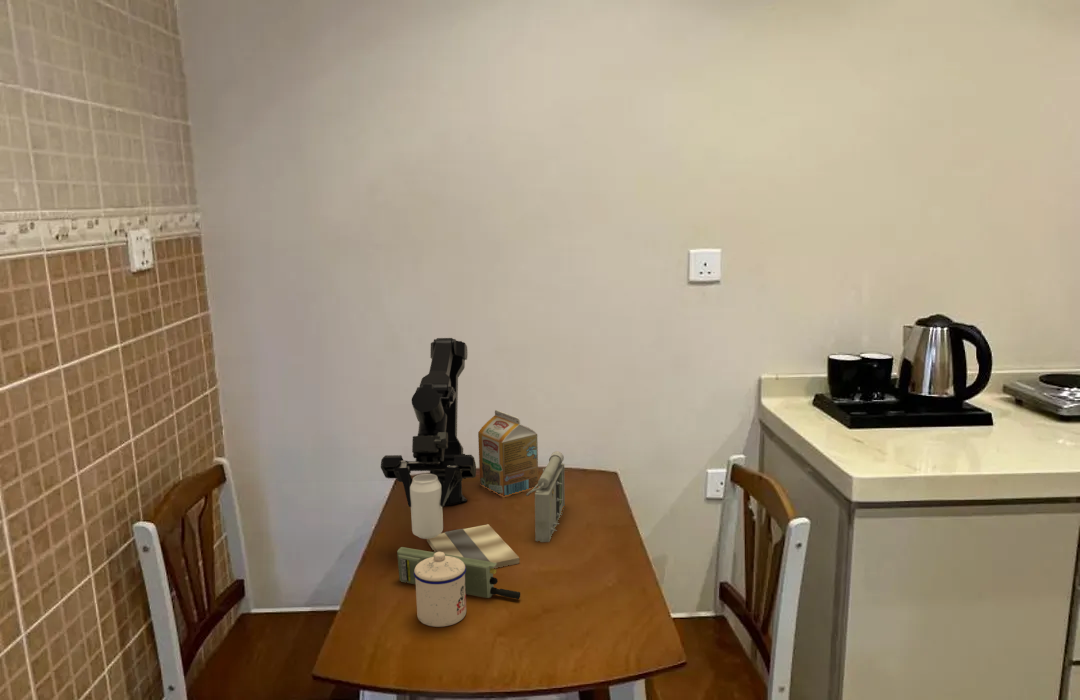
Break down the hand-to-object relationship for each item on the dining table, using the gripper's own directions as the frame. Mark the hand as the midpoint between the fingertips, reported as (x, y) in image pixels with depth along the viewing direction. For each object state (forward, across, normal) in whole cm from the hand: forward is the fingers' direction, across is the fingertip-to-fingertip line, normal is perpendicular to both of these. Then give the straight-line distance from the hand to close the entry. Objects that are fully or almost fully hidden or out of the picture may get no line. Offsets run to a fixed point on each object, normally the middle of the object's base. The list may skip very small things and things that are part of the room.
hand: (425, 506), depth 159 cm
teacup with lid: (+22, +5, -4) cm, 23 cm away
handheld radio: (+16, +7, +1) cm, 18 cm away
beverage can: (+4, 0, +6) cm, 7 cm away
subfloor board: (+5, +8, +12) cm, 16 cm away
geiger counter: (-6, +24, +24) cm, 35 cm away
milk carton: (-20, +14, +39) cm, 46 cm away
